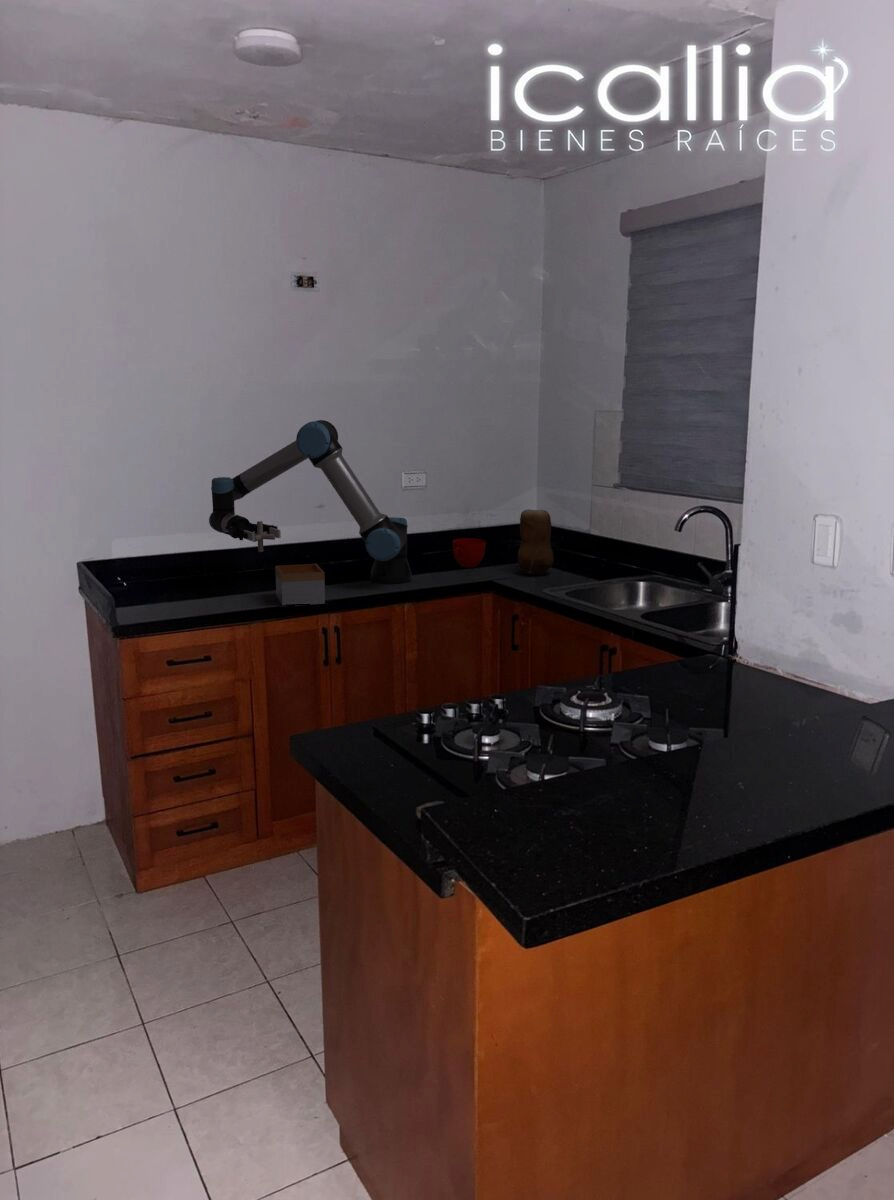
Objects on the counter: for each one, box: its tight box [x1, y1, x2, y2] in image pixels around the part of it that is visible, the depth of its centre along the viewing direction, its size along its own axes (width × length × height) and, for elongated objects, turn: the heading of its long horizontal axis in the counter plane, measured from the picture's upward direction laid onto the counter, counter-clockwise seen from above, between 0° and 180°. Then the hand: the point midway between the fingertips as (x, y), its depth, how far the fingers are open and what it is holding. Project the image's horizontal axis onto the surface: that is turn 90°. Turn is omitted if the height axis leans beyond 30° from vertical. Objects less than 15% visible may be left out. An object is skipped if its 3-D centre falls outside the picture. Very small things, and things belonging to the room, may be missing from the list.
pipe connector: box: [252, 520, 276, 553], centre depth 311 cm, size 10×10×10 cm
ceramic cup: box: [452, 537, 487, 569], centre depth 367 cm, size 13×17×10 cm
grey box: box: [275, 563, 326, 606], centre depth 312 cm, size 14×14×10 cm
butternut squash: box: [517, 508, 555, 576], centre depth 354 cm, size 14×13×25 cm
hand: (266, 535), depth 307 cm, fingers closed on pipe connector, 9 cm apart
